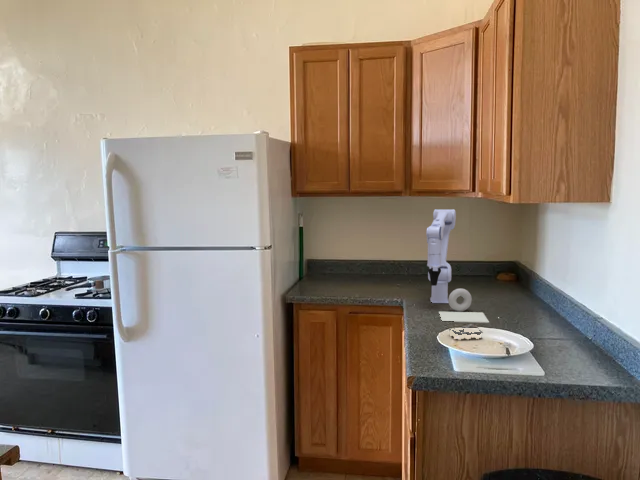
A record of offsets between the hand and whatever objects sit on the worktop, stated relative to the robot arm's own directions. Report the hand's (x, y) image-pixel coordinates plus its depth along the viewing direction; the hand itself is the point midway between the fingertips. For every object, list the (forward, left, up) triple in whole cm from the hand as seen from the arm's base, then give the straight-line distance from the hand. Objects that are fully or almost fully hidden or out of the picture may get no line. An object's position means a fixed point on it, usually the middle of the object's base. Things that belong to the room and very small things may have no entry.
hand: (433, 285), depth 211 cm
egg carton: (+39, +8, -11) cm, 41 cm away
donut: (+3, +11, -11) cm, 15 cm away
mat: (+13, +11, -10) cm, 20 cm away
